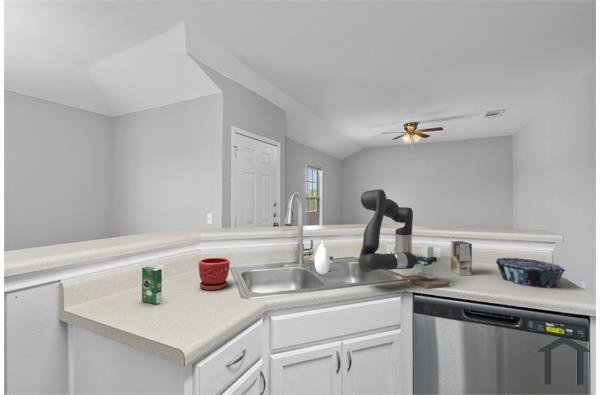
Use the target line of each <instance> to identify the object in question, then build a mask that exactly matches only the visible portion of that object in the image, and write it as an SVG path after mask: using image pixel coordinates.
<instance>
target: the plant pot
mask: <svg viewBox="0 0 600 395" xmlns="http://www.w3.org/2000/svg"><path fill="white" fill-rule="evenodd" d="M230 262H231V261H230V259H228V258H223V257H207V258H203V259H200V260H199V261H198V273H199V278H200V281H201V282H199V287H200V288H201V289H204V290H205V291H206V290H208V291H213V290H214V291H215V290H220V289H223V288H224V287H226V286H227V284H228V282H227V278H228V276H229V273H230V272H229V271H230V265H231V264H230Z"/></svg>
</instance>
